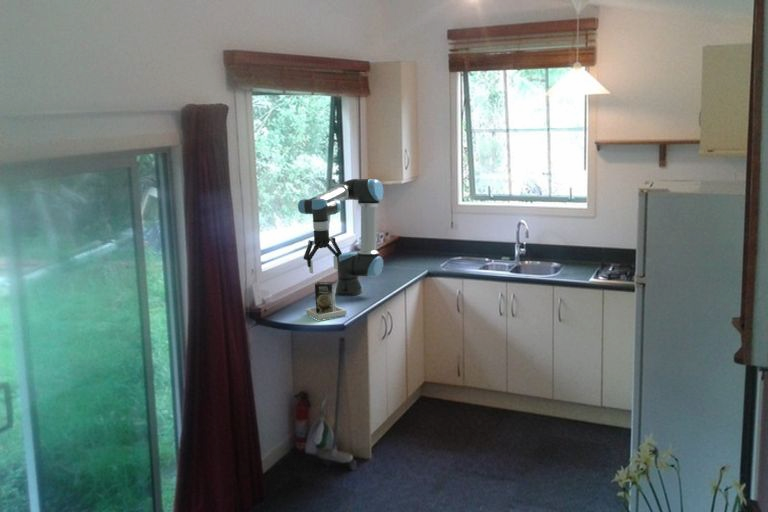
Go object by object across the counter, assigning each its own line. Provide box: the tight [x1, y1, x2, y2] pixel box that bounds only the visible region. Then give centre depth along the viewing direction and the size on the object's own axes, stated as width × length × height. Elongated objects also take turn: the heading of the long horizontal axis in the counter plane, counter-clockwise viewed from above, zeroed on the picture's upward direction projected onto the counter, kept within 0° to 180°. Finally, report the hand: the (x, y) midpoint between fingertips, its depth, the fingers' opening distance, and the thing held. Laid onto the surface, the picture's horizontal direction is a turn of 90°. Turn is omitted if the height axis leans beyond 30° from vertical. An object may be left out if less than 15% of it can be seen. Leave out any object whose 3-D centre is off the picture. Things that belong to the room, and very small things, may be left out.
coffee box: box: [314, 281, 337, 314], centre depth 377 cm, size 9×6×16 cm
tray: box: [305, 305, 347, 321], centre depth 378 cm, size 15×15×3 cm
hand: (323, 271), depth 374 cm, fingers open, 13 cm apart
